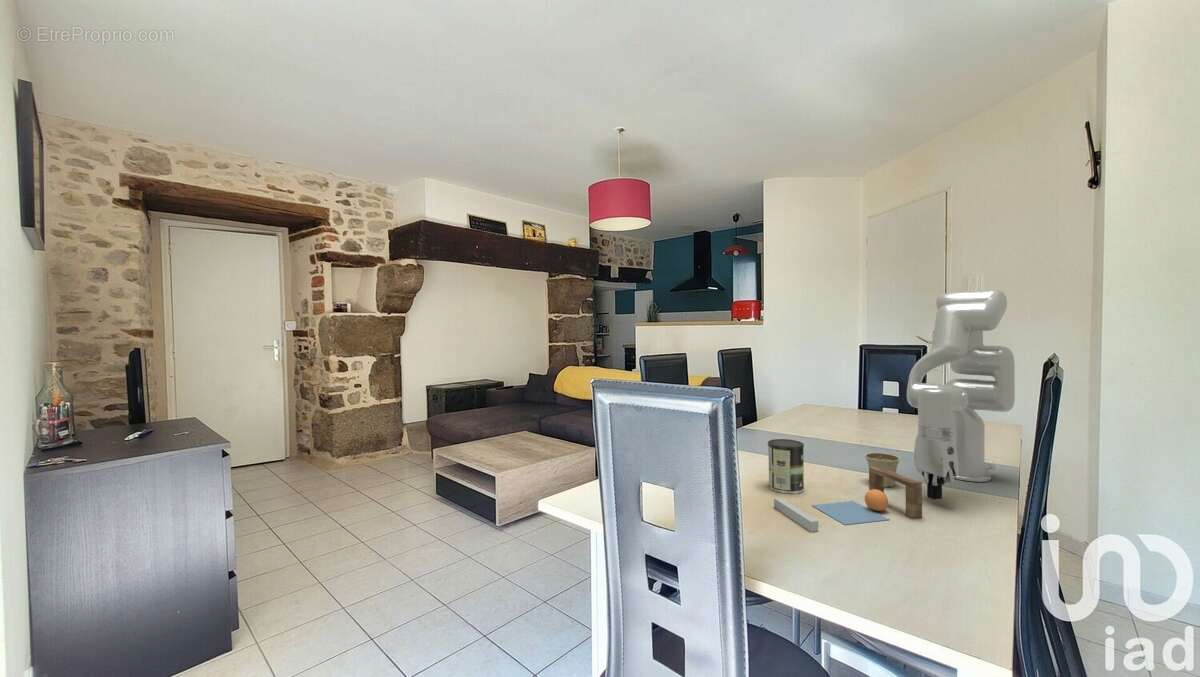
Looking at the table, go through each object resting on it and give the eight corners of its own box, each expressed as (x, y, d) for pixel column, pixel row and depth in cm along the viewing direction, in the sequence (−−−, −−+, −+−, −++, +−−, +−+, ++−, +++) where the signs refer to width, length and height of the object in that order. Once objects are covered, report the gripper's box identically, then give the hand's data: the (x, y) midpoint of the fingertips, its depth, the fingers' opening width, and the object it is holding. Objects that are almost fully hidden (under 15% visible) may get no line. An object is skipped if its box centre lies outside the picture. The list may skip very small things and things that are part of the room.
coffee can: (800, 483, 148) (799, 439, 148) (807, 494, 138) (807, 447, 138) (765, 481, 150) (765, 438, 150) (771, 493, 140) (770, 446, 140)
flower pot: (869, 487, 143) (869, 459, 143) (861, 478, 152) (861, 451, 152) (904, 490, 140) (904, 461, 140) (894, 480, 149) (894, 453, 149)
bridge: (878, 497, 134) (878, 466, 134) (922, 517, 120) (922, 482, 120) (869, 498, 134) (869, 466, 134) (912, 519, 120) (912, 483, 119)
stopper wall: (780, 506, 129) (780, 497, 129) (818, 531, 114) (818, 520, 114) (774, 507, 129) (774, 498, 129) (810, 531, 113) (810, 521, 113)
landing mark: (852, 501, 132) (852, 500, 132) (889, 520, 119) (889, 519, 119) (811, 505, 129) (811, 505, 129) (844, 525, 117) (844, 524, 117)
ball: (878, 487, 129) (861, 485, 128) (894, 494, 123) (876, 492, 122) (875, 507, 129) (858, 505, 128) (891, 514, 123) (874, 513, 122)
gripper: (972, 437, 122) (972, 507, 123) (922, 426, 137) (922, 488, 138) (948, 439, 121) (948, 509, 121) (900, 427, 136) (900, 490, 136)
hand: (934, 498), depth 129 cm, fingers closed
